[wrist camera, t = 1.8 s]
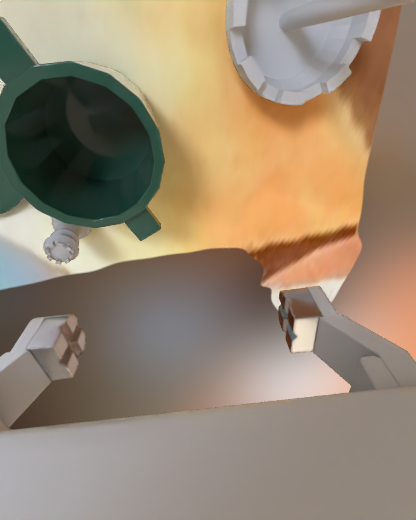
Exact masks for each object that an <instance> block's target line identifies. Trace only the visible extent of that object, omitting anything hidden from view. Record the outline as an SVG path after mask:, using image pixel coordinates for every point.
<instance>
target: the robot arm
mask: <svg viewBox="0 0 416 520" xmlns="http://www.w3.org/2000/svg"><path fill="white" fill-rule="evenodd" d="M279 299H280V302H281V305H280V306H279V311H278V312H279V321H280V325H281V328H282V330H283V331H284V332H286V341H287V344H288V347H289V349H290V352H291V353H300V352H312V351H314V353H315V354H316V355H317V356H318V357H319V358H320V359H321V360H323V361H324V362H325V363H326V364H327V365H328V366H329V367H331V368H332V369H333V370H334V371H335V372H336V373H337V374H339V375H340V376H341V377H342V378H343V379H344V380H345V381H347V382H348V383H349V384H350V385H351V388H350V391H349V393H341V394H332V395H324V396H314V397H305V398H296V399H288V400H278V401H269V402H260V403H251V404H242V405H233V406H224V407H215V408H206V409H197V410H189V411H180V412H170V413H161V414H152V415H143V416H134V417H125V418H116V419H106V420H97V421H88V422H79V423H70V424H61V425H52V426H43V427H35V428H26V429H16V430H11V429H10V428H9V427H10V426H11V425H12V424H13V423H14V422H15V421H16V420H17V418H18V417H19V416H20V415H21V414H22V413H23V412H24V411H25V410H26V409H27V408H28V406H29V405H30V404H31V403H32V402H33V401H34V400H35V399H36V398H37V397H38V396H39V395H40V393H41V392H42V391H43V390H44V389H45V388H46V387H47V386H48V385H49V384H50V383H51V381H52V380H59V379H67V378H73V377H74V375H75V372H76V369H77V367H78V364H79V361H78V359H77V358H78V356H80V355H81V354H82V353H83V351H84V348H85V342H86V338H85V333H84V331H83V329H82V328H80V327H78V326H77V323H78V320H77V318H76V316H75V315H60V316H49V317H41V318H34V319H33V320H31V321H30V323H29V324H28V326H27V327H26V329H25V330H24V332H23V333H22V335H21V336H20V338H19V339H18V341H17V342H16V344H15V346H14V347H13V349H12V350H11V352H7V353H5V354H3V355H2V356H1V357H0V520H416V362H415V360H414V359H413V358H412V356H411V355H410V354H409V353H408V352H407V351H406V350H404V349H403V348H401V347H399V346H397V345H395V344H394V343H392V342H390V341H388V340H386V339H385V338H383V337H381V336H379V335H378V334H376V333H374V332H372V331H371V330H369V329H367V328H365V327H364V326H362V325H360V324H358V323H356V322H354V321H353V320H351V319H349V318H347V317H345V316H344V315H338V313H337V312H336V310H335V309H334V307H333V306H332V304H331V302H330V301H329V299H328V298H327V296H326V294H325V293H324V291H323V290H322V288H321V287H320V286H314V287H306V288H299V289H291V290H283V291H280V294H279Z"/></svg>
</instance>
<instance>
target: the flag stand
mask: <svg viewBox="0 0 416 520" xmlns="http://www.w3.org/2000/svg"><path fill="white" fill-rule="evenodd" d="M412 2H416V0H227V7H226V33H227V40H228V47H229V51H230V54H231V57H232V60H233V63H234V65H235V67H236V69H237V71H238V73H239V75H240V77H241V78H242V80H243V81H244V82H245V83H246V84H247V86H248V87H249V88H250V89H251V90H253V91H254V92H255V93H256V94H258V95H259V96H261V97H263V98H265V99H267V100H270V101H273V102H277V103H281V104H287V105H303V104H304V101H307V100H310V99H312V98H314V97H316V96H318V95H320V94H322V93H327V94H329V93H331V92H332V91H333V90H335V89H336V88H337V87H338V86H340V85H341V84H342V83H343V82H344V81H345V79H346V78H347V77H348V76H349V75H350V74H351V73H352V72H351V70H350V69H349V65H350V64H351V62H352V61H353V59H354V58H355V56H356V54H357V52H358V50H359V48H360V46H361V44H362V42H369V41H371V40H372V37H373V34H374V32H375V29H376V26H377V24H378V20H379V16H380V12H381V10H382V9H386V8H390V7H395V6H399V5H403V4H408V3H412Z"/></svg>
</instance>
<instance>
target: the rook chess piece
mask: <svg viewBox="0 0 416 520" xmlns="http://www.w3.org/2000/svg"><path fill="white" fill-rule="evenodd" d="M52 225H53V228H54V230H55V231H54V232H53V233H52V234H51V236H50V237H48V238H47V239H46V240H45V242H44V246H43V248H44V251H45V253H46V254H47V255H48V256H47V258H48V259H49V260H50V261H51V260H52V259H54V260H56V264H61V262H65V263H68V262H70V261H71V260H73V259H75V258H76V257H77V255H78V253H79V248H78V246H79V239H81V238H83V237H85V236H87V235H88V233H89V232H90V231H91V227H84V226H78V225H71V224H67V223H66V224H65V223H63V222H61V221H59V220H57V219H55V218H53V217H52Z"/></svg>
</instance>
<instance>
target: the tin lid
mask: <svg viewBox="0 0 416 520" xmlns="http://www.w3.org/2000/svg"><path fill="white" fill-rule="evenodd" d="M22 198H23V196H22V195H21V194H20V193H19V192H18V191H16V190H15V189H14V188H13V187H12V185H11V184H10V182H9V180H8V178H7V176H6V174H5V173H4V171H3V169H2V167H1V165H0V214H2V213H5V212H7V211H9V210H11V209H12V208H13V207H15V206H16V205H17V204H18V203H19V202H20V201H21V200H22Z"/></svg>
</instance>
